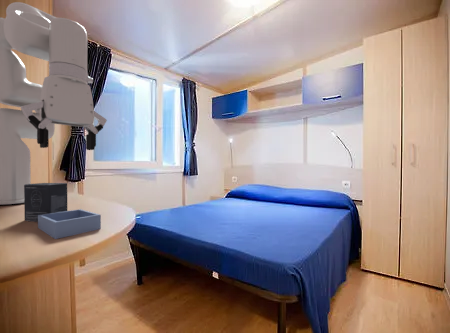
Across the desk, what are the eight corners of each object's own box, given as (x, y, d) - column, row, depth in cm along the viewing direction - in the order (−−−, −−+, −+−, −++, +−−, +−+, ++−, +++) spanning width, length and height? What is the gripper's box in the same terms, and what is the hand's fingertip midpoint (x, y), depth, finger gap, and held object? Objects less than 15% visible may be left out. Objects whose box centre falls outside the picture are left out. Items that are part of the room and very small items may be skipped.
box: (68, 220, 64) (68, 182, 64) (49, 226, 58) (49, 184, 58) (44, 219, 65) (43, 182, 65) (23, 224, 60) (23, 183, 60)
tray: (38, 229, 55) (37, 215, 55) (80, 222, 62) (80, 209, 62) (55, 239, 48) (55, 222, 48) (100, 229, 56) (100, 214, 56)
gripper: (98, 89, 64) (98, 150, 64) (16, 68, 50) (16, 147, 50) (112, 83, 60) (112, 150, 60) (26, 59, 46) (26, 145, 46)
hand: (68, 148), depth 55 cm, fingers open, 9 cm apart
